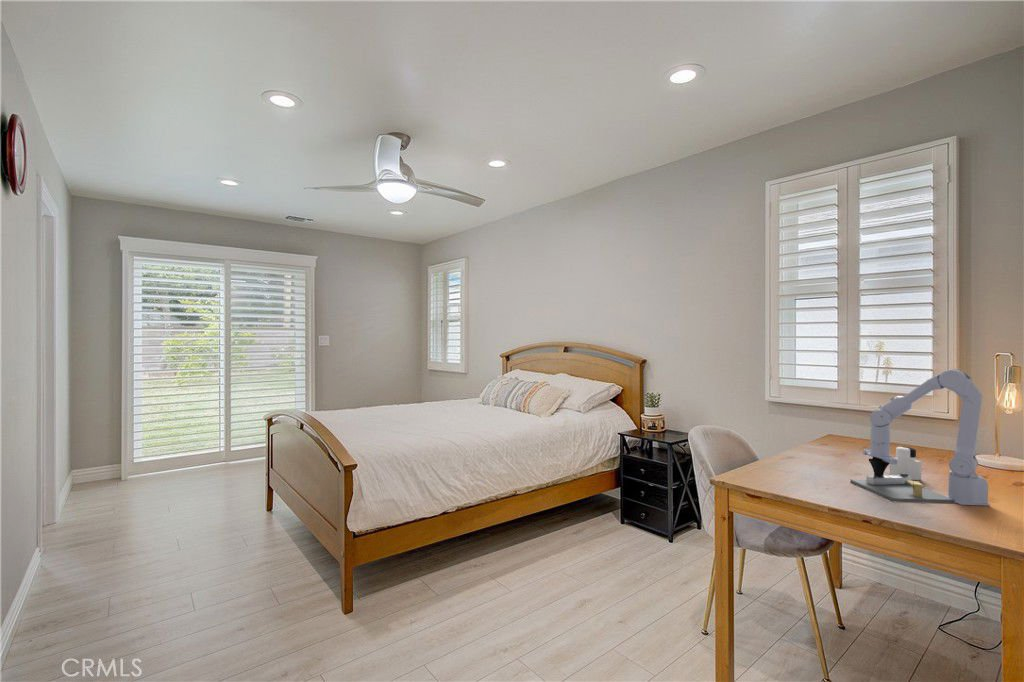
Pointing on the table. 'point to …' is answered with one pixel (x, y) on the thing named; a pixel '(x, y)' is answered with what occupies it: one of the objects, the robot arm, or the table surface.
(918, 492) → the keeper
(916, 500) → the board
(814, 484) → the table surface
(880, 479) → the link
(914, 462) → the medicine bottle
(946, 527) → the table surface
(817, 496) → the table surface
